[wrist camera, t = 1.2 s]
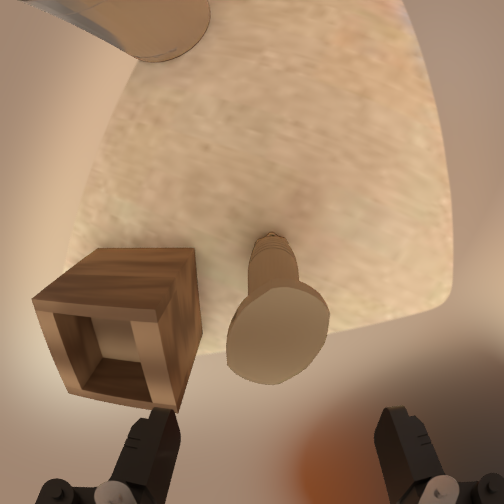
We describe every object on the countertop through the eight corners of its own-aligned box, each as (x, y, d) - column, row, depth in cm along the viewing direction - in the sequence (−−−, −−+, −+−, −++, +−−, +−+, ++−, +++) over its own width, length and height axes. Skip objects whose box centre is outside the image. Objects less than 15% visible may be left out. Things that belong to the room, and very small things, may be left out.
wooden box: (97, 248, 31) (31, 298, 19) (194, 247, 30) (155, 309, 19) (114, 327, 34) (68, 393, 23) (202, 333, 34) (178, 413, 22)
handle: (309, 229, 29) (348, 310, 15) (278, 285, 31) (286, 393, 17) (263, 207, 29) (262, 272, 14) (234, 265, 31) (210, 366, 16)
